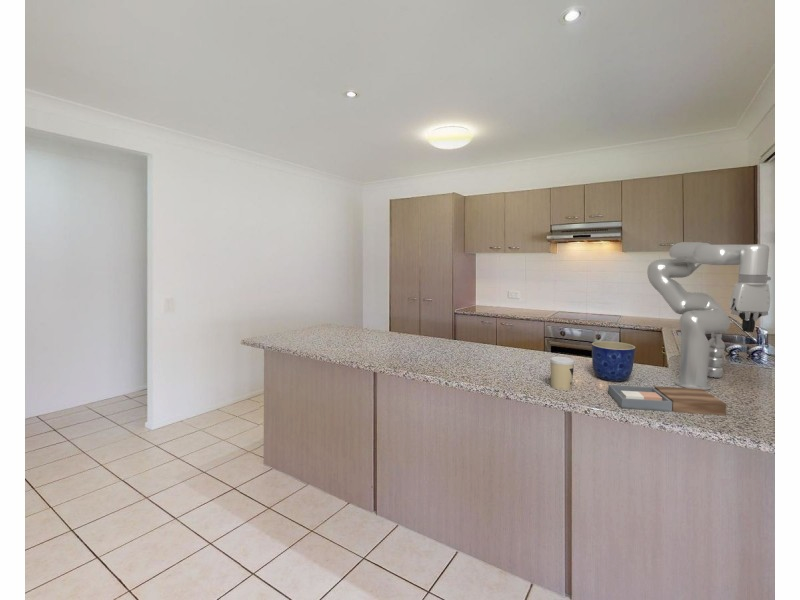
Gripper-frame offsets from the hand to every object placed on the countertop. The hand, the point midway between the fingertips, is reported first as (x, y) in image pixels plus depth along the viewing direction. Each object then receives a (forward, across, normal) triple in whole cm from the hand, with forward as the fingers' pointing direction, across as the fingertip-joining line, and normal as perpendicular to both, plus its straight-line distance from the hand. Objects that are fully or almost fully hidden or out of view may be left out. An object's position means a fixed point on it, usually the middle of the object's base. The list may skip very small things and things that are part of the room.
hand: (747, 331), depth 142 cm
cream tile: (+24, +37, +4) cm, 45 cm away
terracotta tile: (+26, +31, +3) cm, 41 cm away
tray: (+27, +35, +4) cm, 45 cm away
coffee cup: (+27, +60, -9) cm, 67 cm away
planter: (+27, +36, -26) cm, 52 cm away
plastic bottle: (+27, -9, -37) cm, 47 cm away
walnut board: (+27, +19, +4) cm, 33 cm away
